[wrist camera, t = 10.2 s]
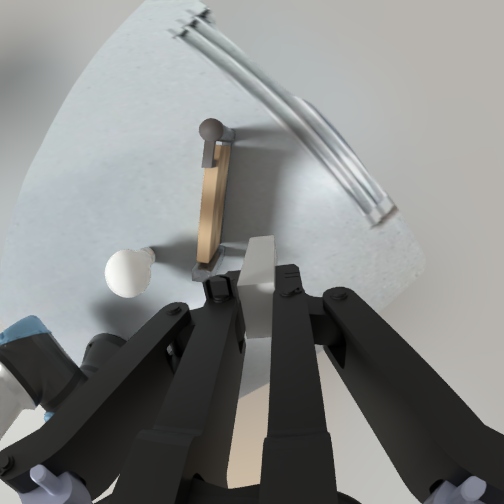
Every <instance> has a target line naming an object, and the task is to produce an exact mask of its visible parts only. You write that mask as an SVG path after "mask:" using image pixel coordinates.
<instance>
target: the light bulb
mask: <svg viewBox="0 0 504 504" xmlns="http://www.w3.org/2000/svg"><path fill="white" fill-rule="evenodd" d="M154 261H155V252H154V251H153V250H152V249H151V248H148V247H145V248H142V249H140V250H138V251H134V250H130V249H126V250H121V251H118V252H116V253H115V254H113V255H112V257H111V258H110V259H109V260H108V262H107V264H106V268H105V278H106V282H107V284H108V286H109V288H110V289H111V290H112V291H113V292H114V293H115V294H117V295H119V296H121V297H125V298H131V297H135V296H138V295H140V294H141V293H142V292H143V291H145V289H146V288H147V286H148V285H149V282H150V278H151V270H150V267H151V265H152V264H153V263H154Z"/></svg>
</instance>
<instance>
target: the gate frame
mask: <svg viewBox="0 0 504 504" xmlns="http://www.w3.org/2000/svg"><path fill="white" fill-rule="evenodd" d="M223 126H224V125H223ZM224 129H225V131H224V135H223V136H222V138H221V139H219V140H218V141H221V142H222V146H230V147H231V142H232V141H233V140H234V138H235V133H234V131H233V130H232V129H230V128H228V127H226V126H224ZM230 151H231V150H230ZM229 159H230V157H229ZM228 169H229V165H228ZM227 178H228V173H227ZM226 188H227V181H226ZM225 197H226V189H225ZM224 208H225V198H224V206H223V215H222V224H221V234H220V244H221V241H222V229H223V218H224ZM224 253H225V246H218V248H217V249H216V251H215V253H214V255H213V256H212V258H211V260H210V261H209V263H204V262H198V261H197V263H196V264H195V266H194V267H193V269H192V281H197V282H203V281H204V280H205V279H207V278H209V277H212V276H215V275H216V273H217V271H218V268H219V266H220V264H221V262H222V260H223V258H224Z"/></svg>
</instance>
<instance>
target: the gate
mask: <svg viewBox="0 0 504 504" xmlns="http://www.w3.org/2000/svg"><path fill="white" fill-rule="evenodd" d="M224 131H225V129H224V126H223V124H222V123H221V122H220V121H218V120H216V119H213V118H210V119H206V120H204V121H203V122H202V123H201V125H200V127H199V133H200V136H201V137H202V138H203V139H204V140H205V143H204V151H203V160H202V168H205V170H204V180H203V189H202V199H201V210H200V222H199V234H198V248H197V261H198V262H204V263H209V261H210V260H211V258H212V256H213V255H214V253H215V251H216V249H217V248H218V246H219V243H220V234H221V224H222V215H223V206H224V198H225V189H226V181H227V173H228V165H229V157H230V150H231V147H230V146H222V145H216V141H218V140H219V139H221V138H222V136H223V135H224Z"/></svg>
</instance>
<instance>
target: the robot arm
mask: <svg viewBox="0 0 504 504" xmlns="http://www.w3.org/2000/svg"><path fill="white" fill-rule="evenodd" d="M202 283H203V287H204V292H205V296H206V302H205V304H204V306H203V307H201V308H198V309H193V310H189V306H188V305H187V304H186V303H182V302H174V303H170V304H169V305H167V306H165V307H163V308H162V309H161V310H160V311H159V312H158V313H157V314H156V315H154V316H153V317H152V318H151V319H150V320H149V321H148V322H147V323H146V324H145V325H144V326H143V327H142V328H141V329H140V330H139V331H138V332H137V333H136V334H135V335H134V336H132V337H131V338H130V339H129V340H128V341H127V342H126V341H124V340H123V339H121V338H119V337H116V336H114V335H110V334H98V335H96V336H94V337H93V338H92V340H91V341H90V342H89V343H88V345H87V348H86V351H85V354H84V358H83V361H82V365H81V367H80V368H79V367H78V366H77V365H76V364H75V363H74V362H73V360H72V359H71V358H70V357H69V356H68V354H67V353H66V352H65V351H64V349H63V348H62V347H61V346H60V344H59V343H58V342H57V340H56V339H55V338H54V336H53V335H52V334H51V331H50V330H48V329H47V328H46V327H45V325H44V324H43V323H42V321H41V320H40V319H39V318H38V317H36V316H33V315H31V316H27V317H25V318H23V319H21V320H20V321H18V322H16V323H15V324H13V325H12V326H10V327H9V328H7V329H6V330H4V331H3V332H2V333H1V334H0V440H1V438H2V437H3V435H4V434H5V433H6V431H7V430H8V429H9V427H10V426H11V425H12V423H13V422H14V421H15V419H16V418H17V417H18V415H19V414H20V413H21V411H22V410H24V409H33V410H34V409H35V408H36V407H37V406H38V405H39V404H40V405H41V406H42V407H43V408H44V409H45V410H46V413H45V414H44V415H45V416H44V419H45V422H46V423H45V424H44V425H43V426H42V427H41V428H40V429H38V430H37V431H35V432H33V433H31V434H30V435H28V436H26V437H24V438H23V439H21V440H19V441H17V442H15V443H14V444H12V445H10V446H8V447H6V448H5V449H3V450H2V451H0V479H1V480H2V481H3V482H5V483H6V484H7V485H9V486H10V487H11V488H13V489H14V490H15V491H16V492H17V493H18V494H19V496H20V499H21V501H22V504H93V503H92V501H93V500H94V499H96V498H97V497H99V496H100V495H101V494H102V493H103V492H105V491H106V490H107V489H108V488H109V487H110V485H111V484H112V483H113V482H114V481H115V479H116V478H117V477H118V476H119V478H118V480H117V482H116V485H115V487H114V490H113V493H112V494H110V495H109V496H107V497H105V498H103V499H101V500H100V501H98V502H96V503H94V504H361V503H360V502H359V501H357V500H356V499H354V498H352V497H350V496H348V495H346V494H344V493H341V492H338V491H337V487H336V477H335V468H334V459H333V450H332V442H331V437H330V433H329V432H328V431H327V427H326V419H325V411H324V404H323V397H322V390H321V383H320V376H319V370H318V364H317V358H316V351H315V345H314V344H317V345H323V348H324V351H325V353H326V354H327V356H328V357H329V359H330V361H331V362H332V364H333V366H334V367H335V369H336V370H337V372H338V374H339V375H340V377H341V379H342V380H343V382H344V384H345V385H346V386H347V388H348V390H349V392H350V393H351V395H352V397H353V398H354V400H355V401H356V403H357V405H358V406H359V408H360V410H361V412H362V413H363V415H364V417H365V418H366V420H367V422H368V423H369V425H370V426H371V428H372V430H373V431H374V433H375V435H376V436H377V438H378V440H379V441H380V443H381V445H382V447H383V448H384V450H385V451H386V453H387V455H388V456H389V458H390V460H391V462H392V463H393V465H394V467H395V468H396V470H397V472H398V473H399V475H400V477H401V478H402V480H403V482H404V483H405V485H406V486H407V488H408V489H409V491H410V492H411V493H412V494H413V495H414V496H415V497H416V498H417V499H418V501H419V502H420V503H422V504H504V435H503V434H501V433H499V432H497V431H495V430H494V429H491V428H490V427H488V426H486V425H484V424H483V422H482V421H481V420H480V419H479V418H478V417H477V416H476V415H475V413H474V412H473V411H472V410H471V409H470V408H469V407H468V406H467V405H466V403H465V402H464V401H463V400H462V399H461V398H460V397H459V396H458V395H457V394H456V393H455V392H454V390H453V389H452V388H450V386H449V385H448V384H447V383H446V382H445V381H444V380H443V379H442V378H441V377H440V376H439V375H438V374H437V373H436V371H434V369H433V368H432V367H431V366H430V365H429V364H428V363H427V362H426V361H425V360H424V359H423V358H422V357H421V356H420V355H419V354H418V353H417V352H416V351H415V350H414V349H413V348H412V347H411V346H410V345H409V344H408V343H407V342H406V341H405V340H404V339H403V338H402V337H401V336H400V335H399V334H398V333H397V332H396V331H395V330H394V329H393V328H392V327H391V326H390V325H389V324H388V323H386V321H385V320H383V319H382V318H381V317H380V316H379V315H378V314H377V313H376V312H375V311H374V310H373V309H372V308H371V307H370V306H369V305H368V304H367V303H366V302H365V301H364V300H363V299H361V298H360V297H359V296H358V295H357V294H356V293H355V292H354V291H353V290H351V289H349V288H345V287H335V288H331V289H328V290H326V291H325V292H324V293H323V297H313V296H310V295H308V294H306V293H305V290H304V289H303V287H302V281H301V277H300V271H299V267H297V266H296V265H295V264H289V265H280V266H278V265H277V256H276V248H275V240H274V235H269V236H260V237H252V238H250V240H249V243H248V247H247V251H246V254H245V258H244V262H243V265H242V269H241V270H238V271H228V272H227V273H226V274H224V275H215V276H212V277H209V278H207V279H205V280H204V281H203V282H202ZM245 331H246V337H247V339H250V338H264V337H272V342H271V369H270V393H269V413H268V432H267V437H266V438H265V439H264V443H263V454H262V467H261V480H260V484H257V485H251V486H245V487H240V488H233V489H228V485H227V468H228V461H229V455H230V449H231V442H232V436H233V429H234V423H235V416H236V409H237V403H238V396H239V389H240V383H241V376H242V369H243V362H244V356H245V349H246V343H245V338H244V335H245ZM169 344H170V346H171V348H172V351H171V352H170V353H169V354H168V352H167V347H168V346H169ZM119 474H120V475H119Z"/></svg>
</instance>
